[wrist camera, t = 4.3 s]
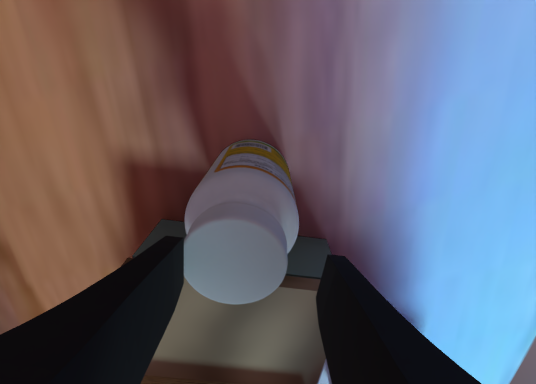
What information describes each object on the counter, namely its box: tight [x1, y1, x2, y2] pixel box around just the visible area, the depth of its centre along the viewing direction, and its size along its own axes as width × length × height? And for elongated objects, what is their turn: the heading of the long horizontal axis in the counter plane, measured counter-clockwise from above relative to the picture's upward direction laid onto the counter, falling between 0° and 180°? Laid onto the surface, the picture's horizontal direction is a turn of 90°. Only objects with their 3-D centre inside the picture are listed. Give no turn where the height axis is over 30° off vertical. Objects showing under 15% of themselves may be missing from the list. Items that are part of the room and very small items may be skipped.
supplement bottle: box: [184, 140, 299, 304], centre depth 14 cm, size 5×5×10 cm
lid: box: [122, 258, 326, 384], centre depth 16 cm, size 13×11×4 cm
